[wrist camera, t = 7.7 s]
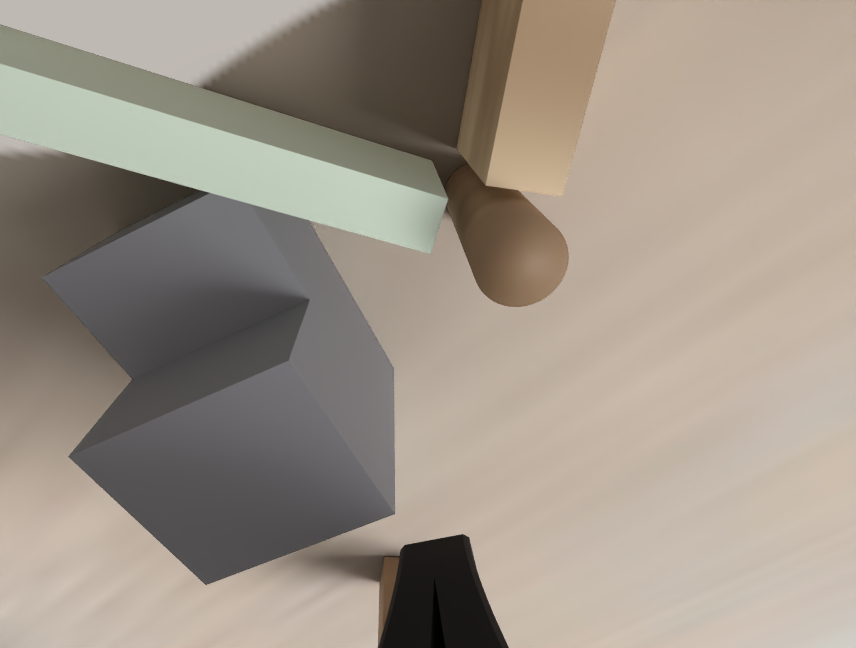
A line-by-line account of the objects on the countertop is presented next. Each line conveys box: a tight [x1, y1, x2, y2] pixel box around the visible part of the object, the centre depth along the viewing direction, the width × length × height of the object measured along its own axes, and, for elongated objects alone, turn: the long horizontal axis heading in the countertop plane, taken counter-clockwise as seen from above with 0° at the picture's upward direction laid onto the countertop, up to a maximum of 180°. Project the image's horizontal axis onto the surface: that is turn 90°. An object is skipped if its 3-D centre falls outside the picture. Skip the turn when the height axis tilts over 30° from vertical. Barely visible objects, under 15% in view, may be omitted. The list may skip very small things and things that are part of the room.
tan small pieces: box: [378, 0, 616, 646], centre depth 11 cm, size 18×1×4 cm, turn 172°
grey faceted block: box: [41, 190, 395, 585], centre depth 10 cm, size 4×6×5 cm, turn 24°
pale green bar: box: [0, 25, 448, 254], centre depth 8 cm, size 10×2×4 cm, turn 73°
